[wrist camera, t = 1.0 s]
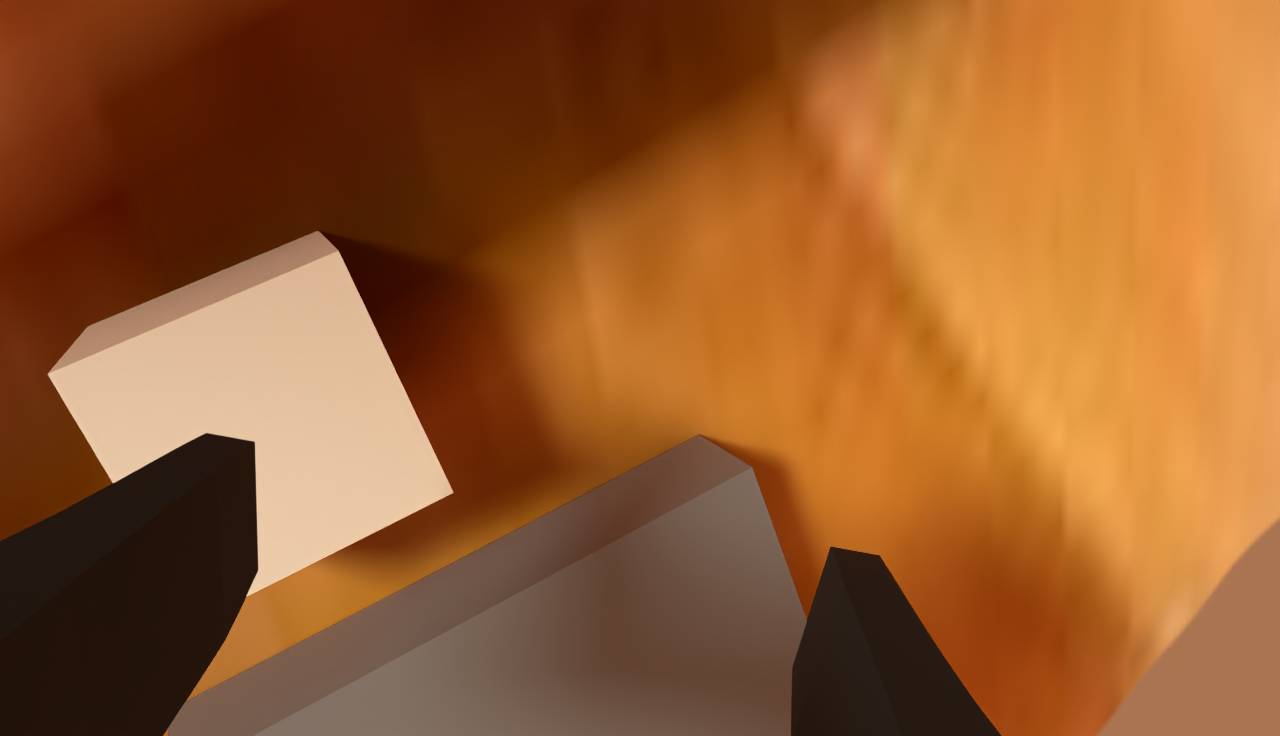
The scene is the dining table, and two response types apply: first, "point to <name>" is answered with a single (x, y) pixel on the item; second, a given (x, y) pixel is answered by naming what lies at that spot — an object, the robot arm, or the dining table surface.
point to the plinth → (560, 628)
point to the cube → (263, 398)
